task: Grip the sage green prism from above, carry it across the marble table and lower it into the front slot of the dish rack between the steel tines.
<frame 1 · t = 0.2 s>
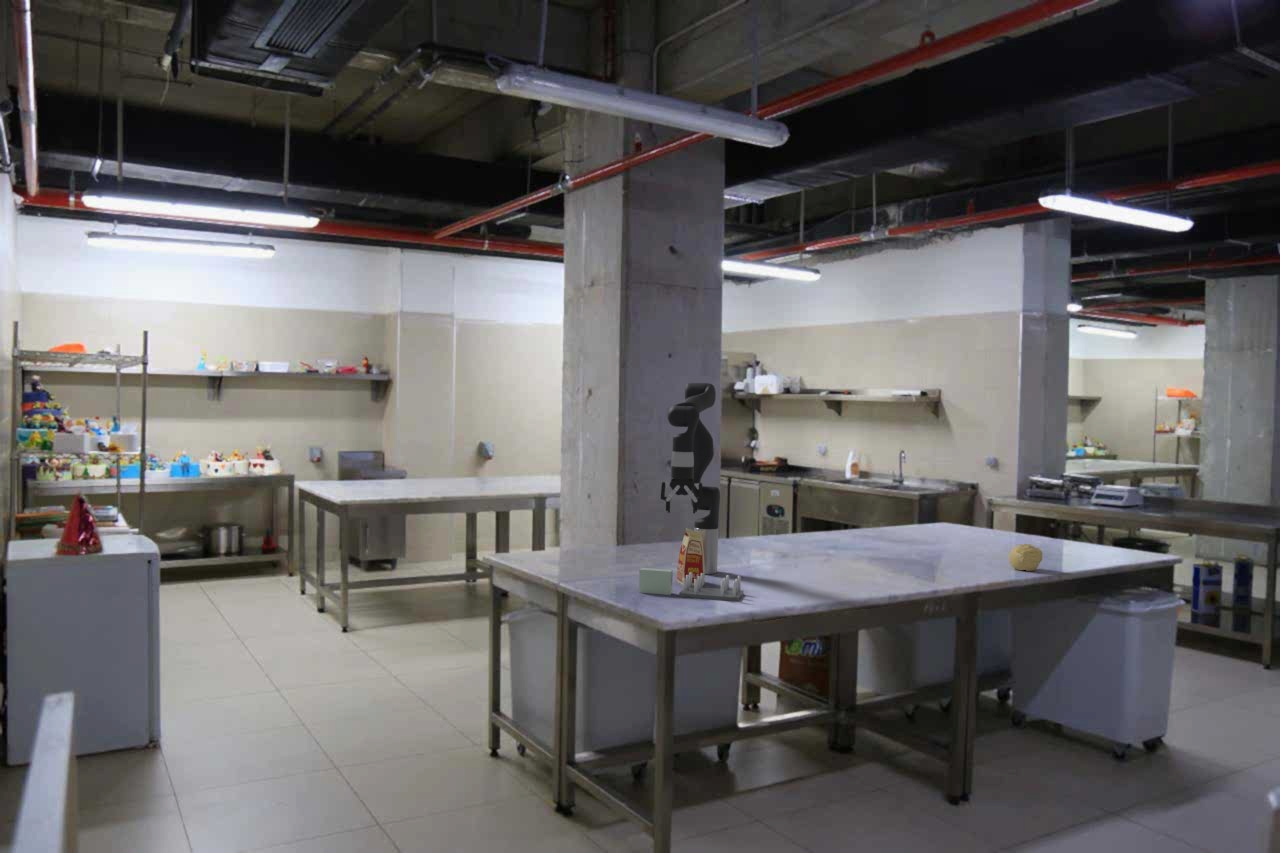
hand: (681, 512, 304), 28 cm above the table, tool pointing down, fingers open, 8 cm apart
sage green prism: (655, 593, 308), on the table
milk carton: (691, 583, 327), on the table
yellow lumpy ball: (1024, 570, 370), on the table
dish rack: (711, 595, 306), on the table
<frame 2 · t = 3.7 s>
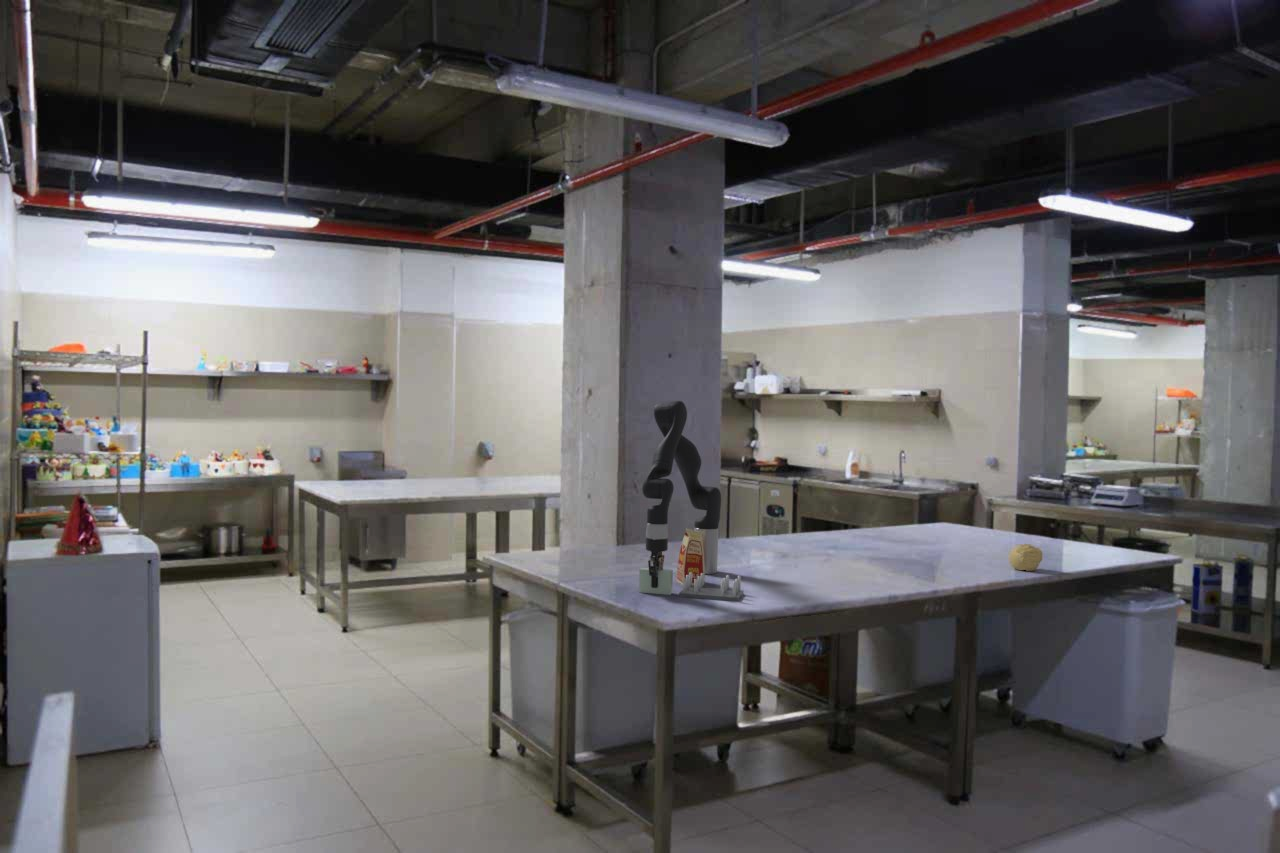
hand: (655, 586, 308), 2 cm above the table, tool pointing down, fingers closed on sage green prism, 3 cm apart
sage green prism: (655, 592, 308), on the table, touching gripper
everything else where it was.
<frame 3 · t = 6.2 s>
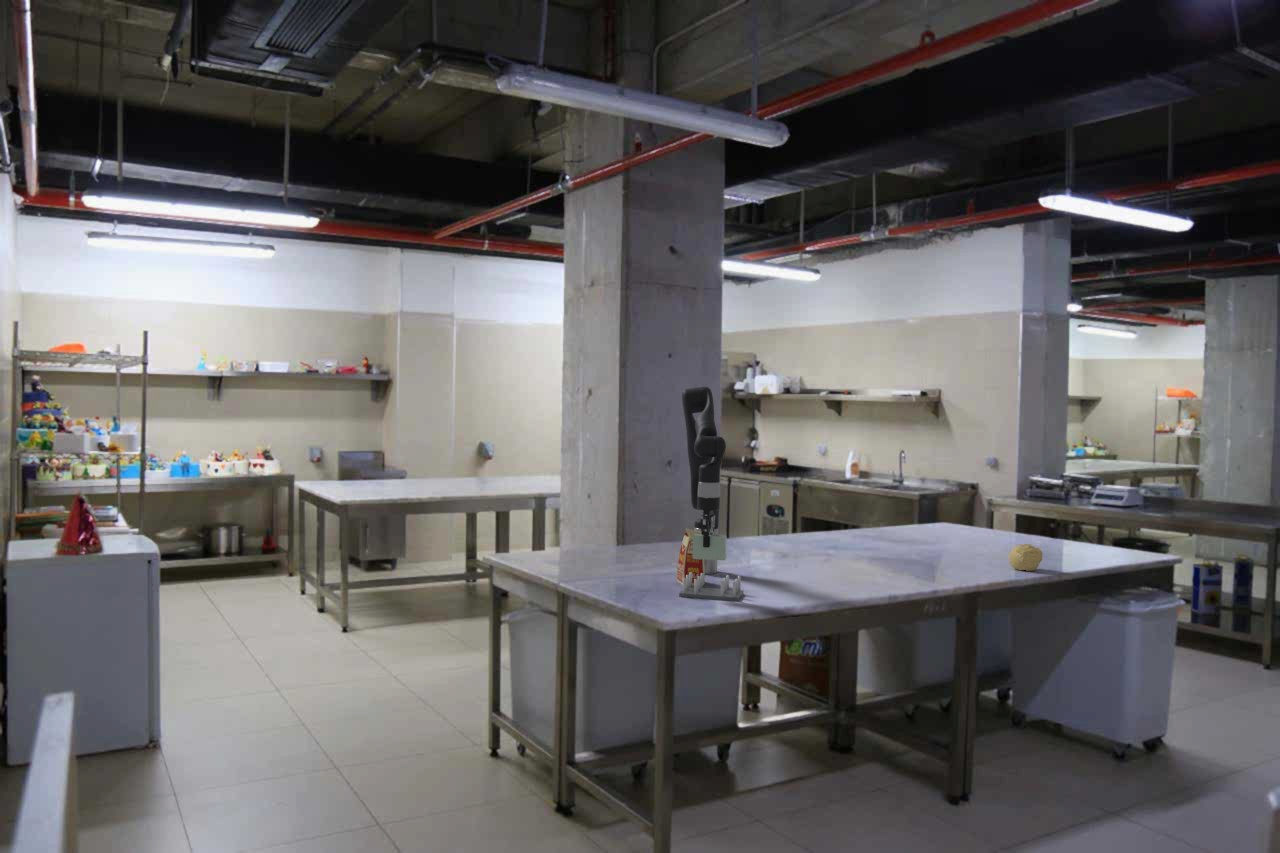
hand: (707, 546, 303), 17 cm above the table, tool pointing down, fingers closed on sage green prism, 3 cm apart
sage green prism: (709, 558, 303), point 13 cm above the table, touching gripper
everything else where it was.
when the fingers open (5 cm above the table, at t = 8.8 s): sage green prism stays where it is, resting on dish rack.
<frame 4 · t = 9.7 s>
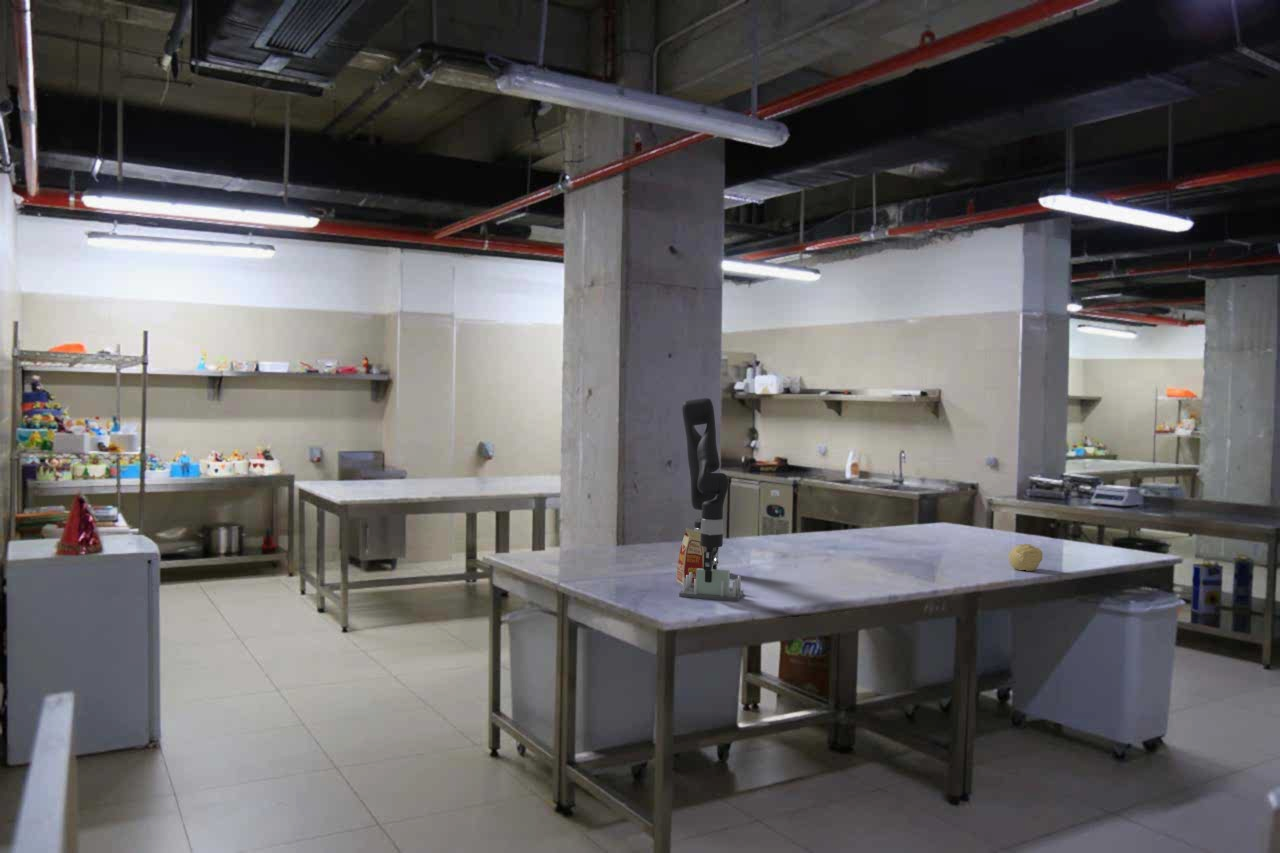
hand: (710, 579, 303), 6 cm above the table, tool pointing down, fingers open, 8 cm apart
sage green prism: (712, 593, 303), point 1 cm above the table, touching dish rack
everything else where it was.
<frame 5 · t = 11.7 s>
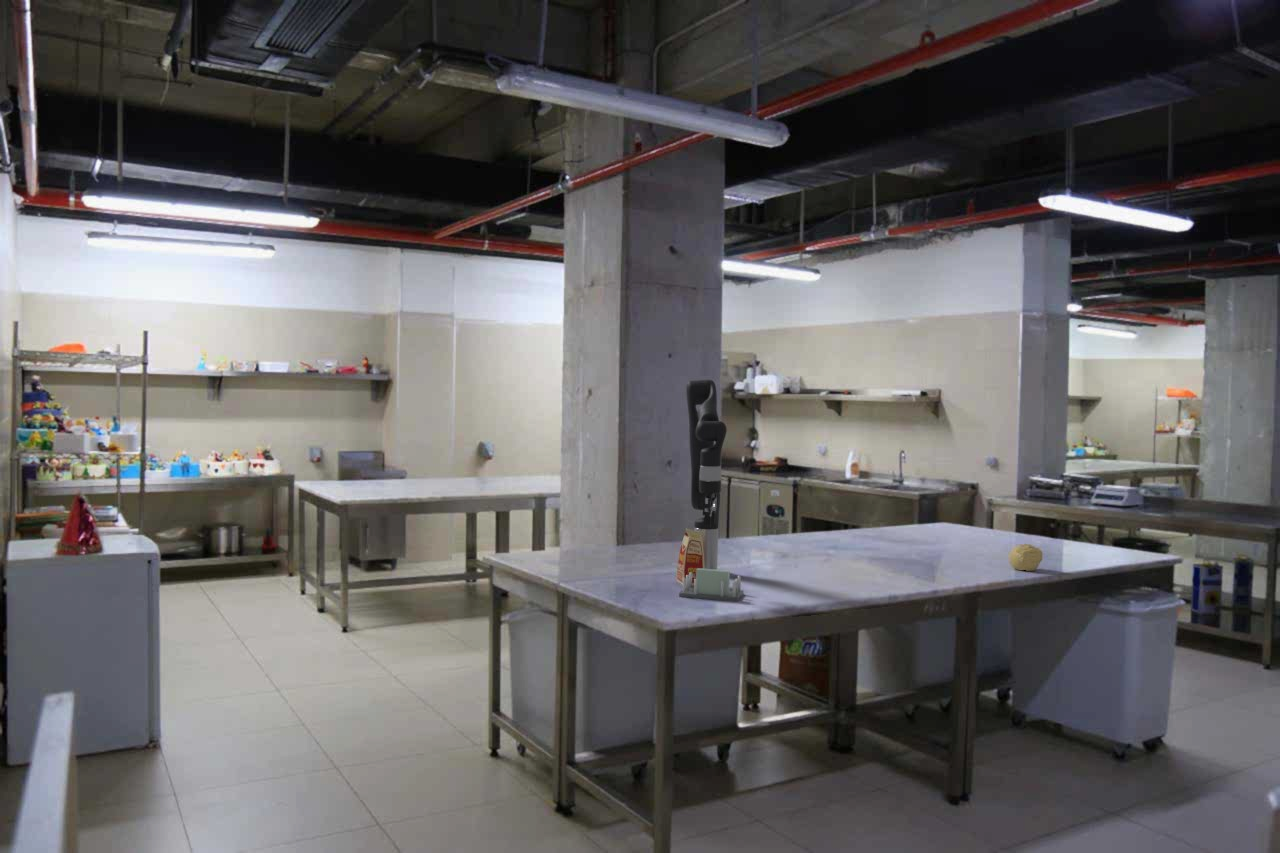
hand: (709, 525, 311), 23 cm above the table, tool pointing down, fingers open, 8 cm apart
nothing on the table moved.
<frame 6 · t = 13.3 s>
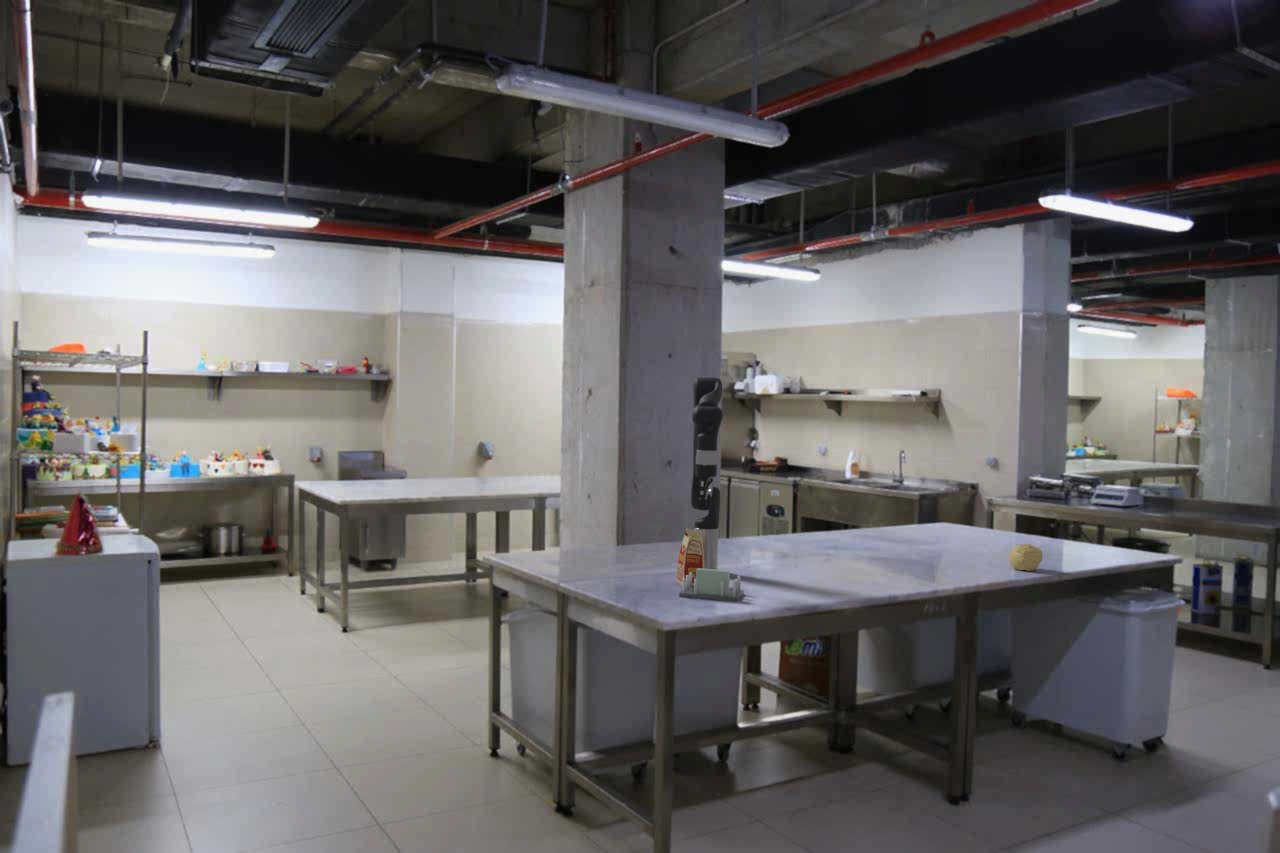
hand: (705, 508, 317), 28 cm above the table, tool pointing down, fingers open, 8 cm apart
nothing on the table moved.
at the end: sage green prism 0.7 cm from the target spot on the dish rack, point 1.2 cm above the dish rack's base; sage green prism tilted 0°; the gripper is holding nothing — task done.
